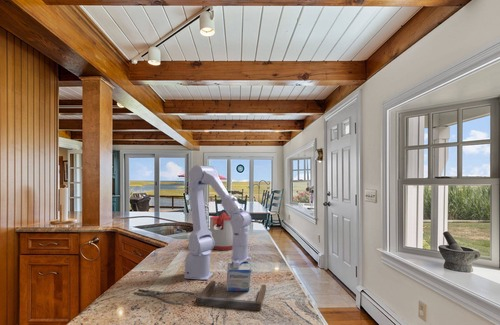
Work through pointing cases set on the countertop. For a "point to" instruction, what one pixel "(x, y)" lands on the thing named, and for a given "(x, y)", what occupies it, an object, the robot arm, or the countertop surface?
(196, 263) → the robot arm
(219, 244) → the citrus juicer
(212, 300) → the bay
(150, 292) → the pliers
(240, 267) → the medicine box
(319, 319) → the countertop surface
